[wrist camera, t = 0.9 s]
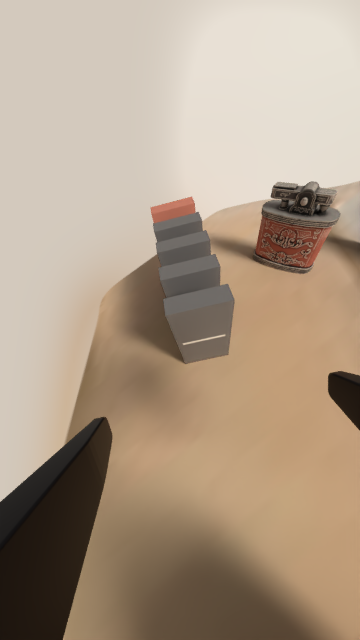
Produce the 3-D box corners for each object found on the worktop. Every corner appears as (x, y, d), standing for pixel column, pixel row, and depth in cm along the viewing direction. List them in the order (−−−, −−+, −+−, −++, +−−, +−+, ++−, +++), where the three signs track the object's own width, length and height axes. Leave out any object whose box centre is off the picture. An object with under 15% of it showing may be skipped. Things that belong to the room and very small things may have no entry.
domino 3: (212, 305, 26) (210, 240, 17) (176, 313, 26) (157, 253, 18) (209, 296, 26) (206, 230, 18) (175, 304, 27) (155, 242, 18)
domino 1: (201, 270, 30) (194, 203, 21) (170, 277, 30) (151, 214, 22) (199, 263, 30) (191, 196, 22) (168, 270, 31) (150, 207, 22)
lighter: (314, 262, 27) (358, 180, 18) (307, 277, 25) (349, 198, 17) (258, 247, 30) (274, 174, 22) (249, 261, 29) (261, 188, 21)
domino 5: (228, 354, 22) (234, 300, 13) (185, 363, 22) (165, 315, 14) (224, 342, 22) (227, 283, 14) (183, 351, 23) (162, 298, 14)
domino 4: (219, 328, 24) (220, 266, 15) (180, 336, 24) (160, 280, 16) (216, 317, 24) (215, 253, 16) (178, 326, 25) (158, 267, 16)
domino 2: (206, 286, 28) (201, 219, 19) (173, 294, 28) (154, 231, 20) (204, 279, 28) (198, 211, 20) (171, 286, 29) (153, 223, 20)
